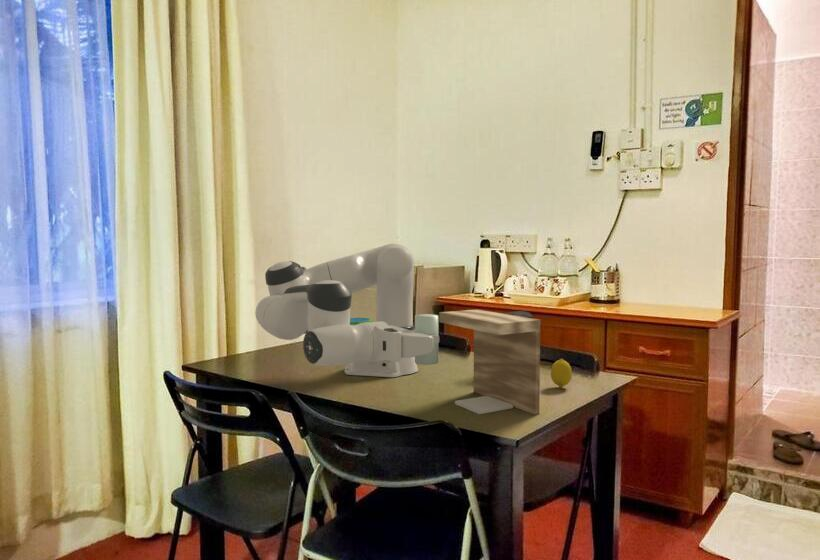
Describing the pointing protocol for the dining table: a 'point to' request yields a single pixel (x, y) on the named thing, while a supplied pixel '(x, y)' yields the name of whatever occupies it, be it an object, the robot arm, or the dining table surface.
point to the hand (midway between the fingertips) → (430, 336)
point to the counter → (501, 360)
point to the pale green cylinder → (429, 327)
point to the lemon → (561, 373)
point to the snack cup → (359, 320)
